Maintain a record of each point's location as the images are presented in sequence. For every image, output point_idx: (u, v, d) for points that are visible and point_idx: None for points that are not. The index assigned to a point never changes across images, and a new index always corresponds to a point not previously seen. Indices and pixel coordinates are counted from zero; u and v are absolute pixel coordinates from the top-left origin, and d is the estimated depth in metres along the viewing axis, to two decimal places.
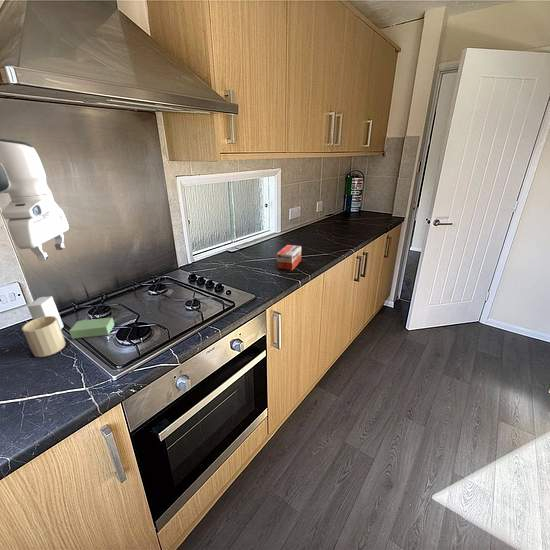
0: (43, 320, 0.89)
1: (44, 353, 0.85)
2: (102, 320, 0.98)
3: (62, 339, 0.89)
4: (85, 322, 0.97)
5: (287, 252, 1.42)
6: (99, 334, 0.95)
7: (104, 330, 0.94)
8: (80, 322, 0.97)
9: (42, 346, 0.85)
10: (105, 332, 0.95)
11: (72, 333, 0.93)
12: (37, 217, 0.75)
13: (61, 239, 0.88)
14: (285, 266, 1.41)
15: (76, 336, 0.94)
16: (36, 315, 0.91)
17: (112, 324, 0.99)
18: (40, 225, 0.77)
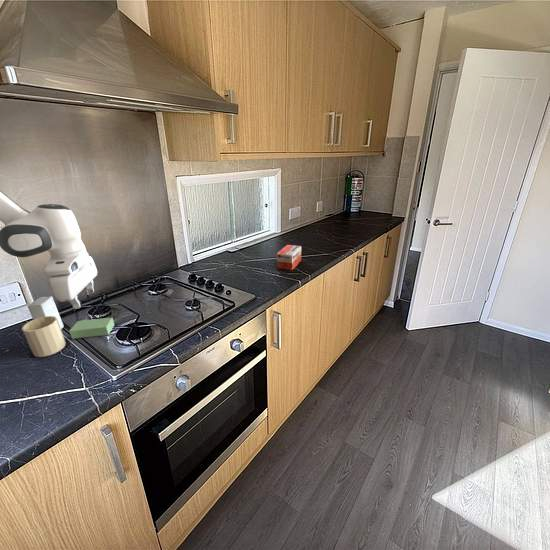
0: (43, 320, 0.89)
1: (44, 353, 0.85)
2: (102, 320, 0.98)
3: (62, 339, 0.89)
4: (85, 322, 0.97)
5: (287, 252, 1.42)
6: (99, 334, 0.95)
7: (104, 330, 0.94)
8: (80, 322, 0.97)
9: (42, 346, 0.85)
10: (105, 332, 0.95)
11: (72, 333, 0.93)
12: (74, 272, 0.83)
13: (91, 284, 0.96)
14: (285, 266, 1.41)
15: (76, 336, 0.94)
16: (36, 315, 0.91)
17: (112, 324, 0.99)
18: (76, 278, 0.86)
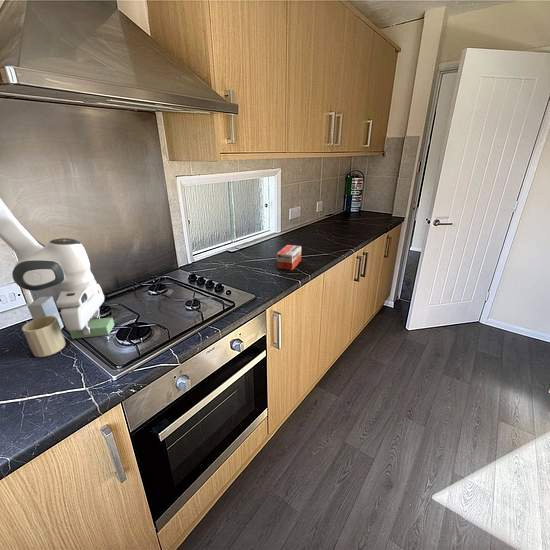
0: (43, 320, 0.89)
1: (44, 353, 0.85)
2: (102, 320, 0.98)
3: (62, 339, 0.89)
4: None
5: (287, 252, 1.42)
6: (99, 334, 0.95)
7: (104, 330, 0.94)
8: None
9: (42, 346, 0.85)
10: (105, 332, 0.95)
11: (72, 333, 0.93)
12: (84, 303, 0.87)
13: (97, 312, 0.99)
14: (285, 266, 1.41)
15: (76, 336, 0.94)
16: (36, 315, 0.91)
17: (113, 324, 0.99)
18: (85, 307, 0.90)
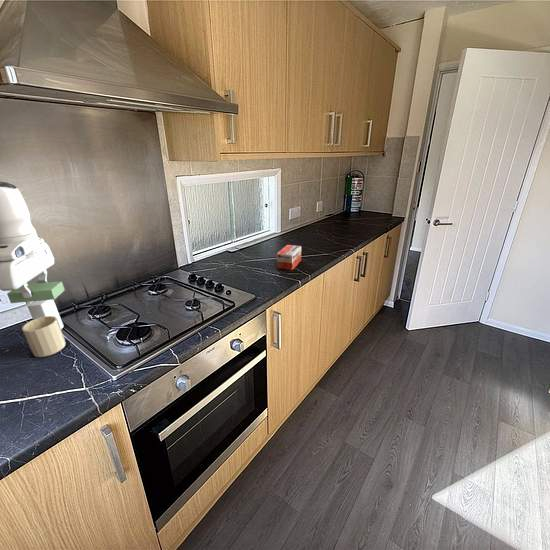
0: (43, 320, 0.89)
1: (44, 353, 0.85)
2: (49, 284, 0.85)
3: (62, 339, 0.89)
4: (28, 286, 0.84)
5: (287, 252, 1.42)
6: (43, 298, 0.82)
7: (49, 293, 0.81)
8: None
9: (42, 346, 0.85)
10: (50, 296, 0.82)
11: (11, 296, 0.80)
12: (20, 258, 0.74)
13: (44, 275, 0.86)
14: (285, 266, 1.41)
15: (16, 300, 0.81)
16: (36, 315, 0.91)
17: (62, 289, 0.86)
18: (24, 265, 0.77)
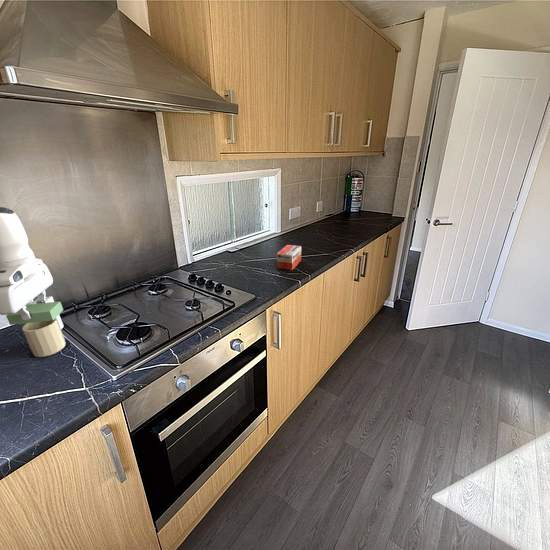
0: None
1: (44, 353, 0.85)
2: (47, 304, 0.86)
3: (62, 339, 0.89)
4: (27, 307, 0.85)
5: (287, 252, 1.42)
6: (42, 320, 0.83)
7: (47, 314, 0.82)
8: None
9: (42, 346, 0.85)
10: (49, 317, 0.83)
11: (10, 318, 0.81)
12: (18, 282, 0.75)
13: (43, 296, 0.87)
14: (285, 266, 1.41)
15: (15, 321, 0.81)
16: None
17: (60, 309, 0.87)
18: (22, 288, 0.78)
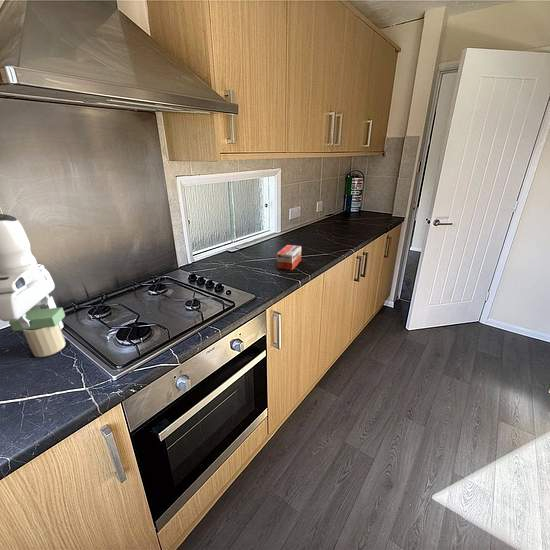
0: None
1: (44, 353, 0.85)
2: (50, 310, 0.86)
3: (62, 339, 0.89)
4: (29, 313, 0.85)
5: (287, 252, 1.42)
6: (44, 326, 0.83)
7: (49, 321, 0.83)
8: None
9: (42, 346, 0.85)
10: (51, 323, 0.83)
11: (12, 324, 0.82)
12: (20, 289, 0.76)
13: (46, 300, 0.89)
14: (285, 266, 1.41)
15: (18, 327, 0.82)
16: None
17: (62, 315, 0.88)
18: (24, 294, 0.79)
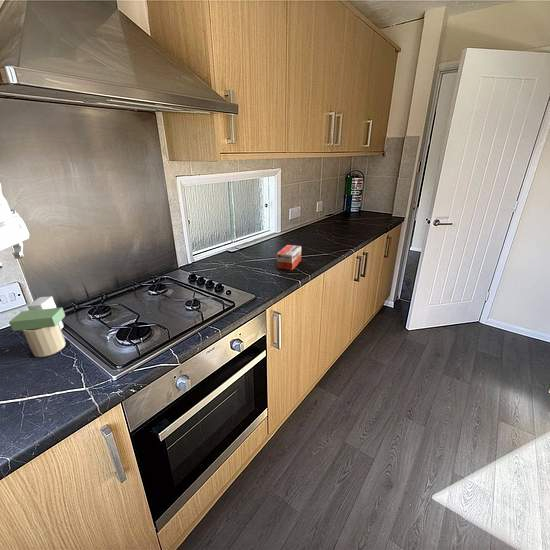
0: None
1: (44, 353, 0.85)
2: (50, 310, 0.86)
3: (62, 339, 0.89)
4: (29, 313, 0.85)
5: (287, 252, 1.42)
6: (44, 326, 0.83)
7: (49, 321, 0.83)
8: (24, 312, 0.86)
9: (42, 346, 0.85)
10: (51, 323, 0.83)
11: (12, 324, 0.82)
12: None
13: (20, 248, 0.88)
14: (285, 266, 1.41)
15: (18, 327, 0.82)
16: None
17: (62, 315, 0.88)
18: None
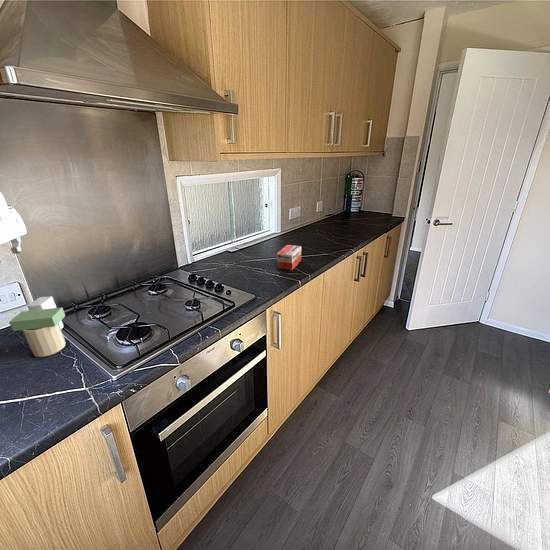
0: None
1: (44, 353, 0.85)
2: (50, 310, 0.86)
3: (62, 339, 0.89)
4: (29, 313, 0.85)
5: (287, 252, 1.42)
6: (44, 326, 0.83)
7: (49, 321, 0.83)
8: (24, 312, 0.86)
9: (42, 346, 0.85)
10: (51, 323, 0.83)
11: (12, 324, 0.82)
12: None
13: (18, 243, 0.89)
14: (285, 266, 1.41)
15: (18, 327, 0.82)
16: None
17: (62, 315, 0.88)
18: None
